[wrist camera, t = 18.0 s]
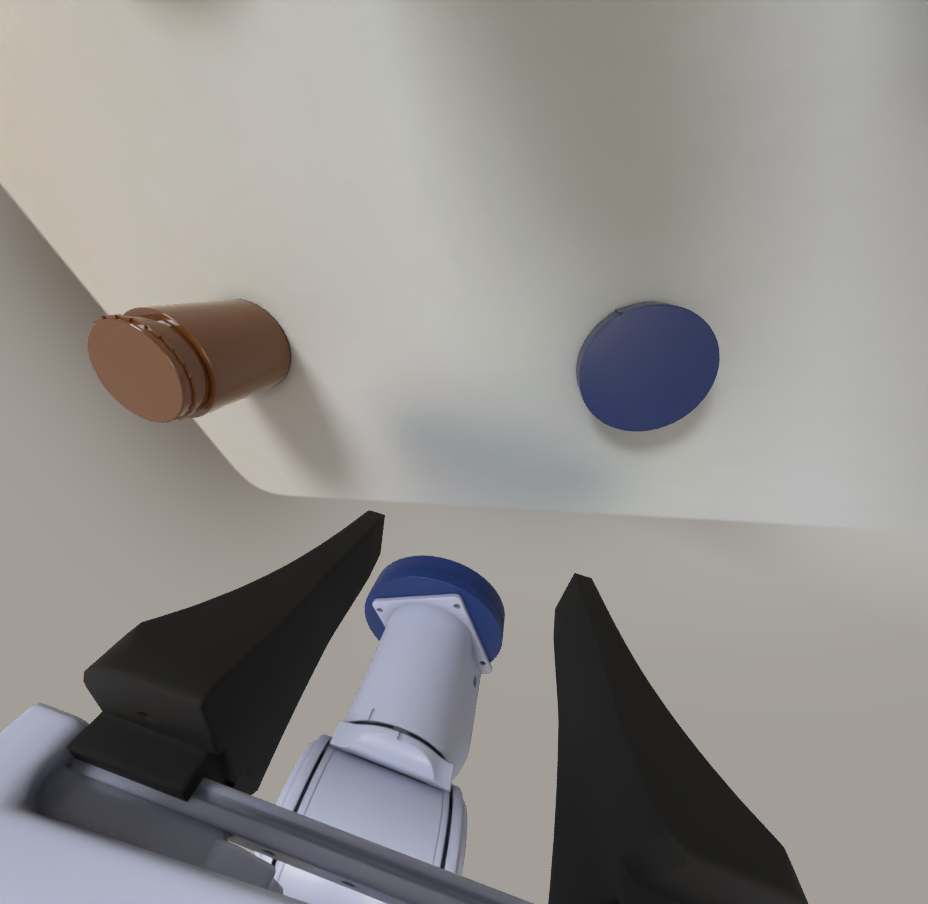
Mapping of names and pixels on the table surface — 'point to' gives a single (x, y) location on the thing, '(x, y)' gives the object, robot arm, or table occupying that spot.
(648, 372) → the lid
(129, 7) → the table surface
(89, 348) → the jar
